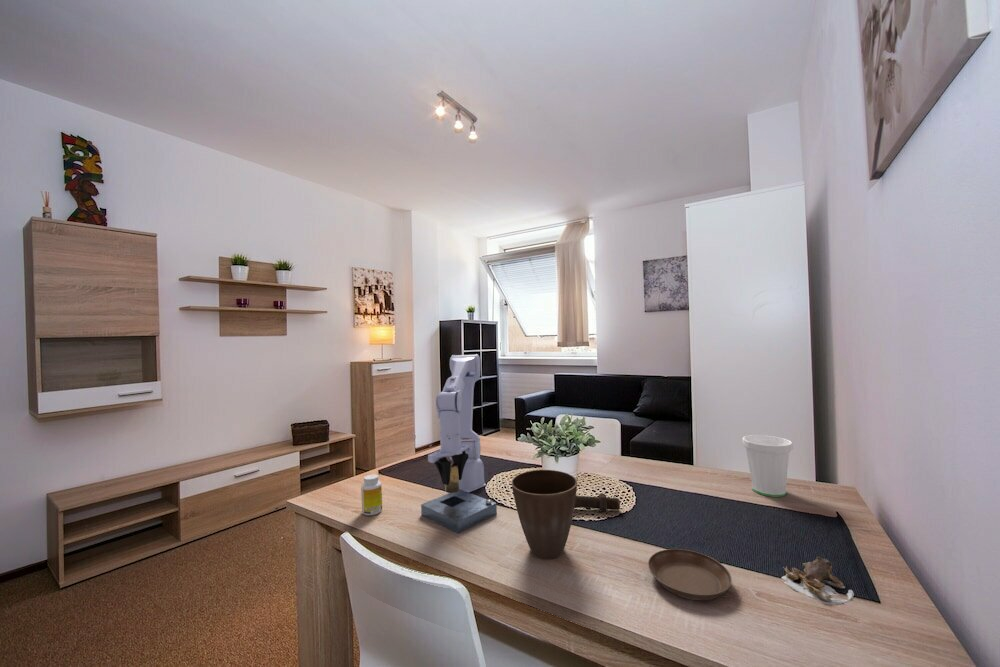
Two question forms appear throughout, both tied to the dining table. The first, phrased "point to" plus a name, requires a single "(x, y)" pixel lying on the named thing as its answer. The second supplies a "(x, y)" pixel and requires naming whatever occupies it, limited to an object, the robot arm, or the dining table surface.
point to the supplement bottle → (371, 495)
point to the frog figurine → (816, 581)
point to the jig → (458, 510)
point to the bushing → (453, 479)
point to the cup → (768, 463)
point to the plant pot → (545, 509)
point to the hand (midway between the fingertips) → (452, 481)
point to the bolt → (597, 502)
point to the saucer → (689, 574)
